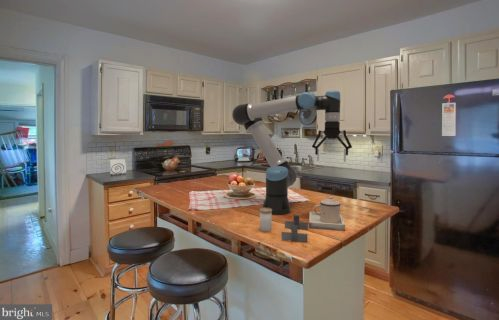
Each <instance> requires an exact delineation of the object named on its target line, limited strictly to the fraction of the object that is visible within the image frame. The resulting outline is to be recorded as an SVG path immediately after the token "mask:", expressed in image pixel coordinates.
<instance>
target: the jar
mask: <svg viewBox="0 0 499 320" xmlns="http://www.w3.org/2000/svg"><path fill="white" fill-rule="evenodd" d="M272 215H273V214H272V209H271V208H263V207H260V208H259V230H260V231H261V232H270V230H271V231H272V218H273V217H272Z"/></svg>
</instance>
